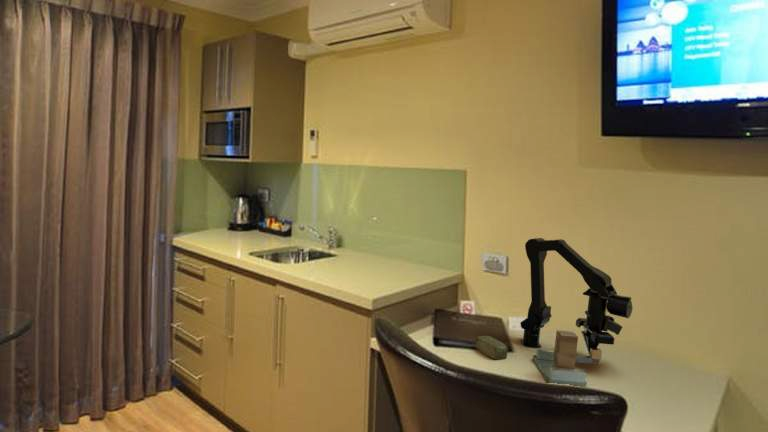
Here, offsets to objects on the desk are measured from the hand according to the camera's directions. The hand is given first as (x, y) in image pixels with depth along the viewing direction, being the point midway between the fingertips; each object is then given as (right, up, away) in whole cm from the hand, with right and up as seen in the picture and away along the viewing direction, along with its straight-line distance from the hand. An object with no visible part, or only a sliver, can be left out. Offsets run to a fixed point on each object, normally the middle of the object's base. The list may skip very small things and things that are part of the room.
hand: (591, 355), depth 168 cm
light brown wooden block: (-9, -1, -3) cm, 10 cm away
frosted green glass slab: (-15, -3, -9) cm, 18 cm away
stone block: (-34, -1, +3) cm, 34 cm away
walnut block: (-15, -2, -14) cm, 20 cm away
